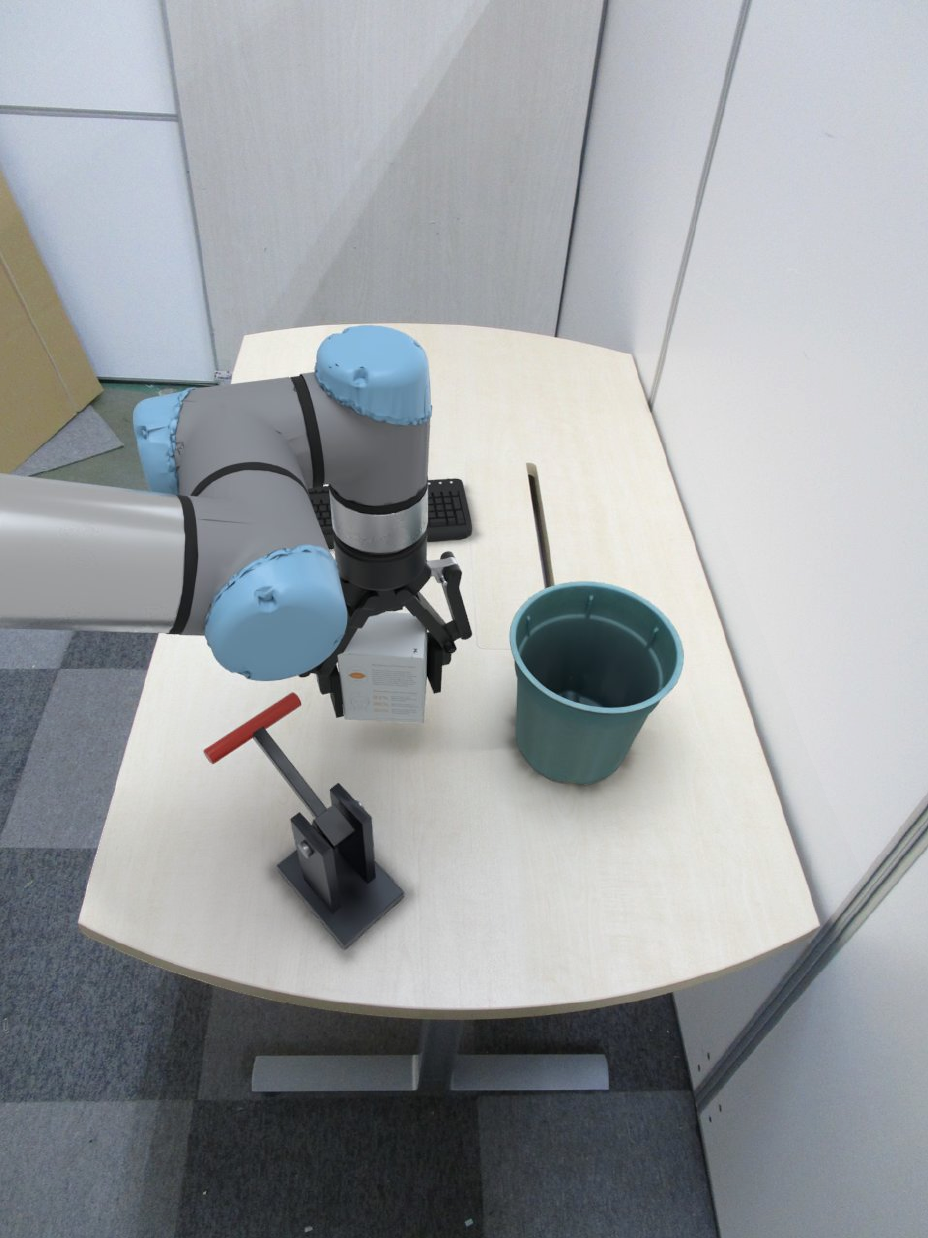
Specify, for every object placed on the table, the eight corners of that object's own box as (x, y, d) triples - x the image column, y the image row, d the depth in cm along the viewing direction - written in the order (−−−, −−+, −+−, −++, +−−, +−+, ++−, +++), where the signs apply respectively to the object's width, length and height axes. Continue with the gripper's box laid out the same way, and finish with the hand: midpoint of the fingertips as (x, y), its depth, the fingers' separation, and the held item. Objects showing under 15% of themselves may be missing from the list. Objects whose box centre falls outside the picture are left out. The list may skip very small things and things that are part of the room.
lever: (203, 755, 66) (202, 746, 64) (291, 697, 71) (293, 687, 69) (296, 880, 64) (299, 874, 62) (381, 812, 68) (387, 804, 66)
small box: (427, 680, 82) (429, 612, 74) (423, 725, 78) (425, 658, 70) (350, 676, 81) (344, 607, 74) (342, 721, 78) (335, 653, 70)
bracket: (277, 870, 74) (258, 803, 64) (337, 824, 77) (327, 754, 68) (344, 950, 69) (334, 890, 60) (404, 897, 73) (404, 833, 63)
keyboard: (249, 554, 102) (247, 542, 100) (250, 500, 109) (248, 489, 107) (473, 538, 106) (474, 527, 105) (460, 487, 113) (461, 476, 112)
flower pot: (484, 682, 90) (496, 583, 78) (622, 672, 92) (654, 574, 80) (509, 811, 79) (527, 720, 67) (664, 797, 81) (709, 705, 69)
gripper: (492, 474, 67) (475, 643, 84) (232, 520, 62) (269, 691, 78) (525, 530, 63) (500, 697, 79) (247, 585, 57) (283, 752, 74)
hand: (386, 694), depth 79 cm, fingers closed on small box, 9 cm apart
